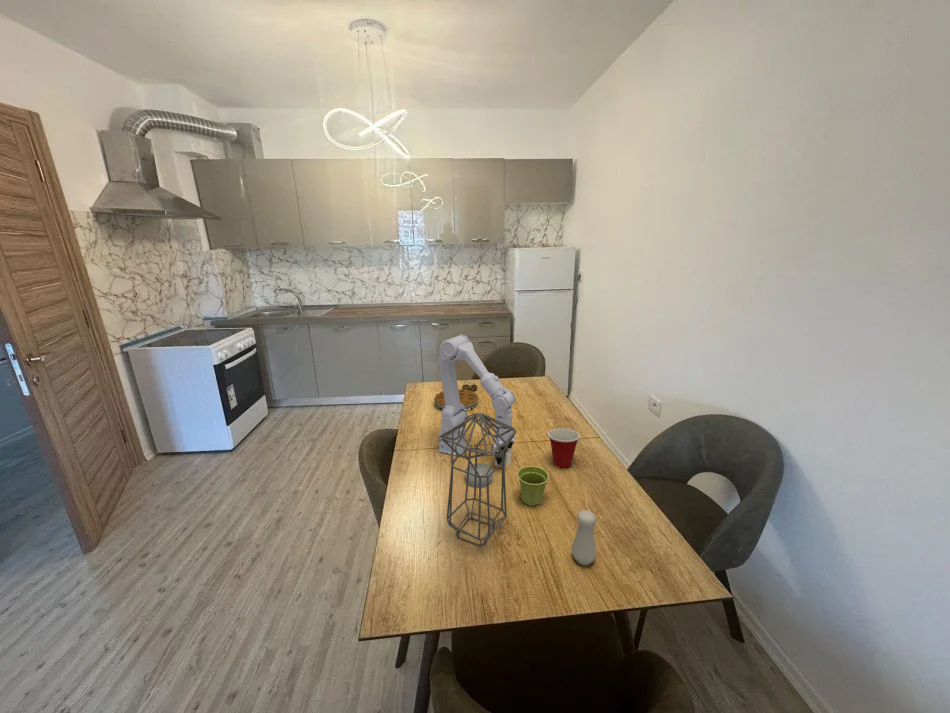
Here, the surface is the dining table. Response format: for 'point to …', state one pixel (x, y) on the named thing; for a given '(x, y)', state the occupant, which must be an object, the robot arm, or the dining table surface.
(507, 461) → the cream block
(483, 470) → the grey disc
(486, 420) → the geometric lantern
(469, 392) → the pie
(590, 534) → the salt shaker
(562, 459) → the plastic cup
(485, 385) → the robot arm
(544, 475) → the plant pot
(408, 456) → the dining table surface
